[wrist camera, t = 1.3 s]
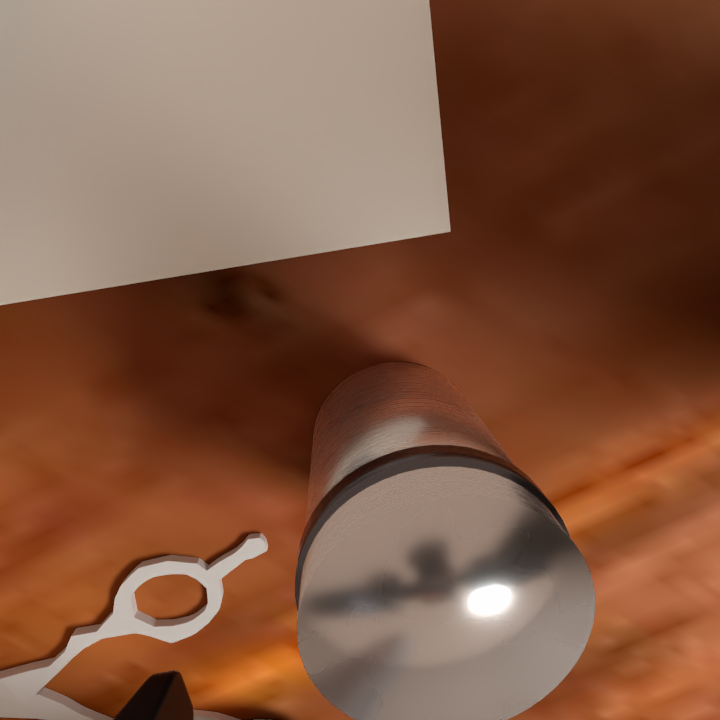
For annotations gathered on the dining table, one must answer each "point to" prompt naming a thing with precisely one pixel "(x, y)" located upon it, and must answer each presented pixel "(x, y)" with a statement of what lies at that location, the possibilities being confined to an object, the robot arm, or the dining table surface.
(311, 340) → the dining table surface
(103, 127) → the plate
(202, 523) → the dining table surface
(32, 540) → the dining table surface
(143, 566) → the scissors
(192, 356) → the dining table surface
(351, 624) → the piston
